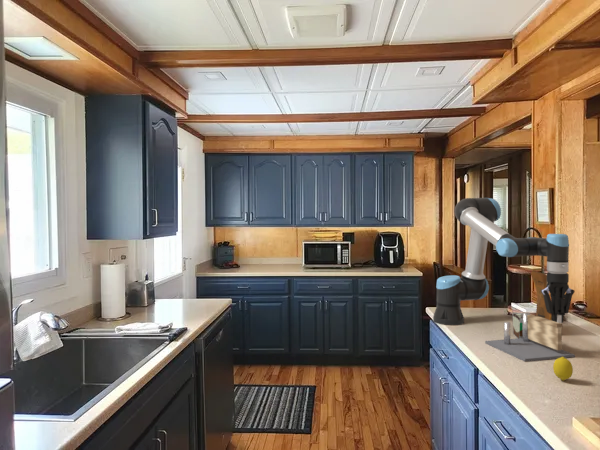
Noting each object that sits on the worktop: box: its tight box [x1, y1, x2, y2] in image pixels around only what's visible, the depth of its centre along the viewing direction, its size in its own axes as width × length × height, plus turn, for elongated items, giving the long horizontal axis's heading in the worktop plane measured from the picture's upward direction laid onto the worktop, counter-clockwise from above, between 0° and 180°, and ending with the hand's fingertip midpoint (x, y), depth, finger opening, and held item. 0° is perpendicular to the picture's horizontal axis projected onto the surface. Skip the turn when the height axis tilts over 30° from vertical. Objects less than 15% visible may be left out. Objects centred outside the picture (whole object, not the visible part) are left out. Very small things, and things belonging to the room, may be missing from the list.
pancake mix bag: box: [530, 270, 552, 320], centre depth 204 cm, size 7×19×28 cm, turn 163°
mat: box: [484, 337, 576, 363], centre depth 176 cm, size 24×22×1 cm
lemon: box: [552, 357, 574, 382], centre depth 143 cm, size 6×6×8 cm
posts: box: [503, 311, 531, 345], centre depth 183 cm, size 3×14×13 cm, turn 112°
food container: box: [512, 311, 523, 339], centre depth 194 cm, size 12×6×10 cm, turn 168°
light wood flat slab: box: [527, 314, 563, 350], centre depth 175 cm, size 16×2×10 cm, turn 11°
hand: (557, 330), depth 173 cm, fingers closed
